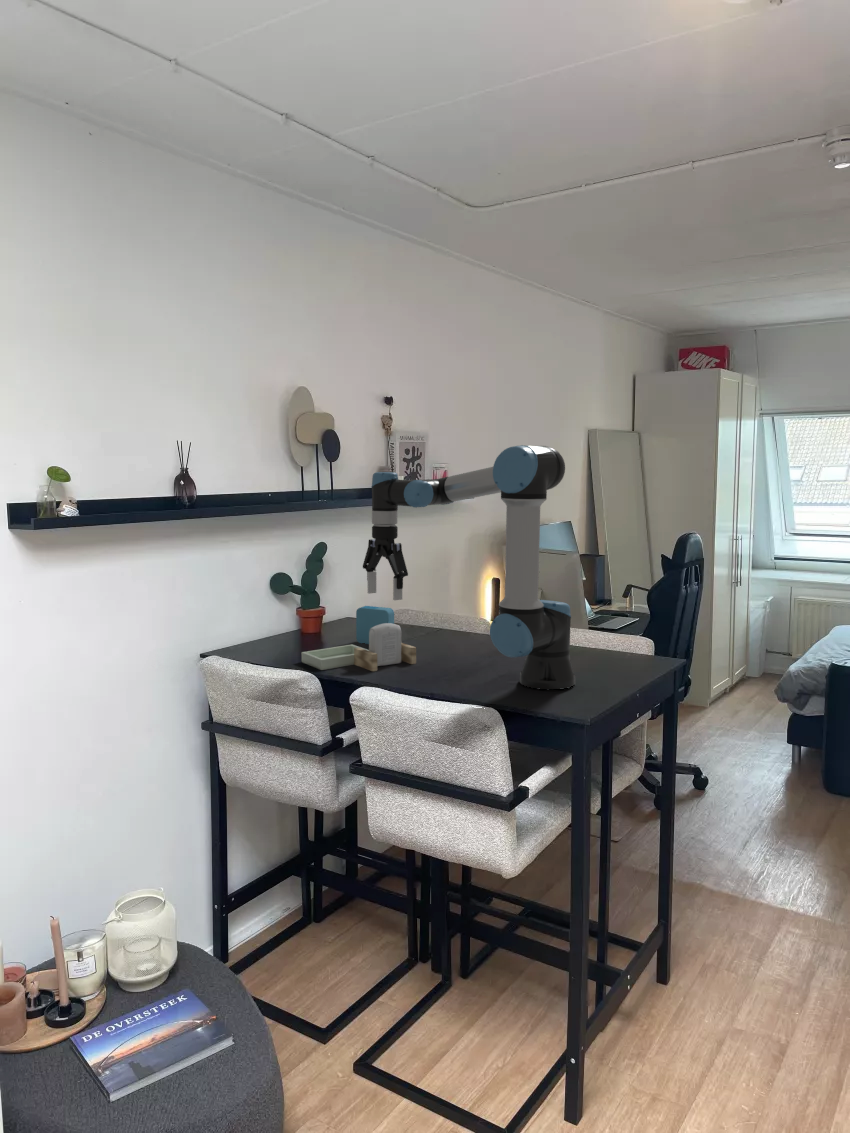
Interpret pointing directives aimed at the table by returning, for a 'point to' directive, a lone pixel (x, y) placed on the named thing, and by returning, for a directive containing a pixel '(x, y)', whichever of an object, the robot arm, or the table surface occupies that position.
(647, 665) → the table surface
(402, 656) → the pair of tan blocks
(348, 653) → the tray
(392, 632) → the grey rounded slab
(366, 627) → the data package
